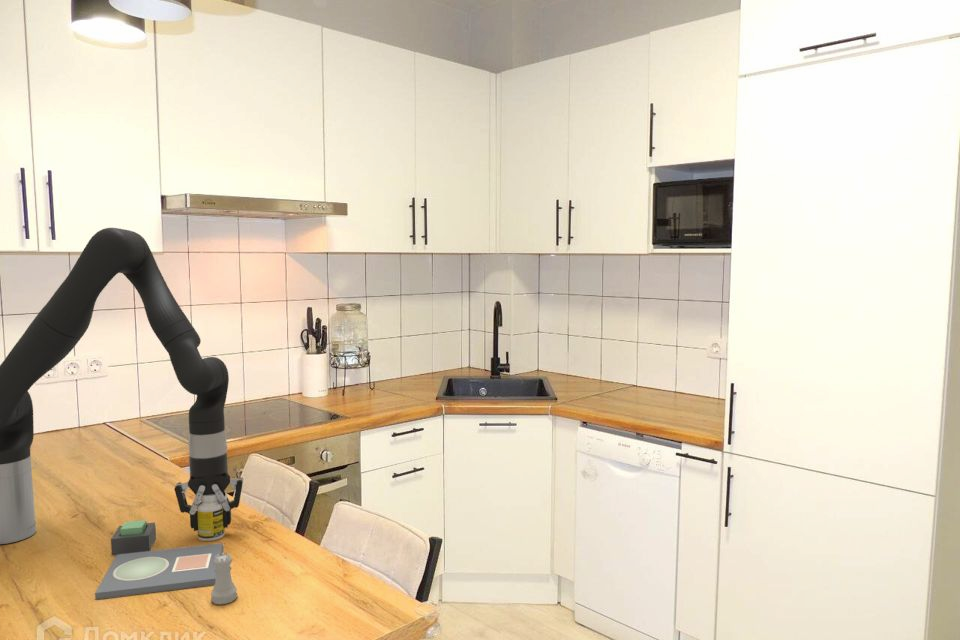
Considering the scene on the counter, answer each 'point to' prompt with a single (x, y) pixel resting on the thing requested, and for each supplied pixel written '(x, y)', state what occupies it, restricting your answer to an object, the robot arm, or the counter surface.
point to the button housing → (133, 541)
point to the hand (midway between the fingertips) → (211, 527)
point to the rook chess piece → (223, 581)
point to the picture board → (160, 571)
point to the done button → (133, 527)
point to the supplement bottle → (210, 518)
